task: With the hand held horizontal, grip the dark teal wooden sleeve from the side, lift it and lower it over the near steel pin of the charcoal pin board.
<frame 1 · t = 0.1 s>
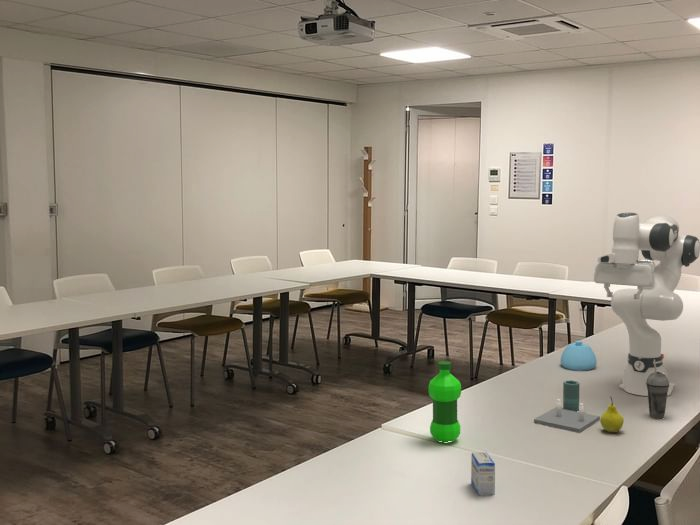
hand: (622, 298, 252), 39 cm above the table, tool pointing down, fingers open, 8 cm apart
fruit: (611, 432, 231), on the table
sleeve: (571, 410, 253), on the table
medicine box: (482, 489, 190), on the table
beverage cup: (656, 417, 243), on the table
sugar bowl: (578, 367, 311), on the table
pin board: (567, 421, 242), on the table
plastic bottle: (445, 441, 226), on the table
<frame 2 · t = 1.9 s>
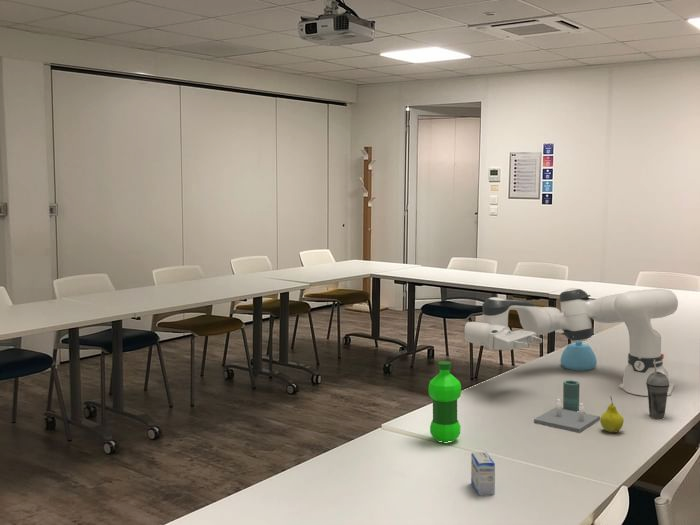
hand: (534, 343, 261), 22 cm above the table, tool horizontal, fingers open, 8 cm apart
nothing on the table moved.
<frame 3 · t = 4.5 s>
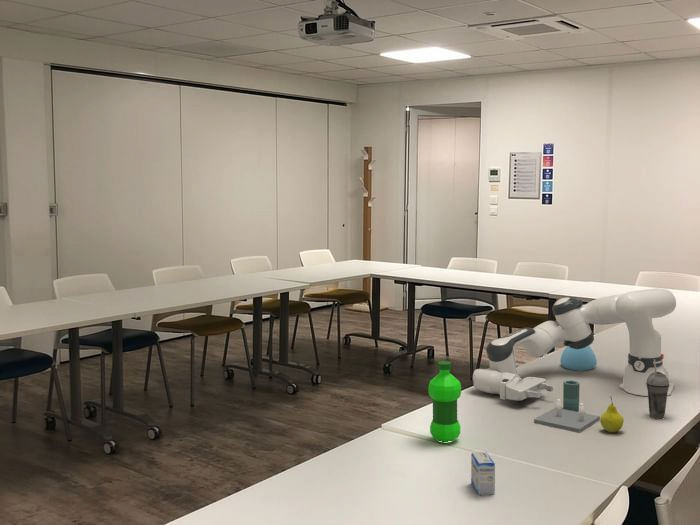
hand: (546, 391, 258), 5 cm above the table, tool horizontal, fingers open, 8 cm apart
nothing on the table moved.
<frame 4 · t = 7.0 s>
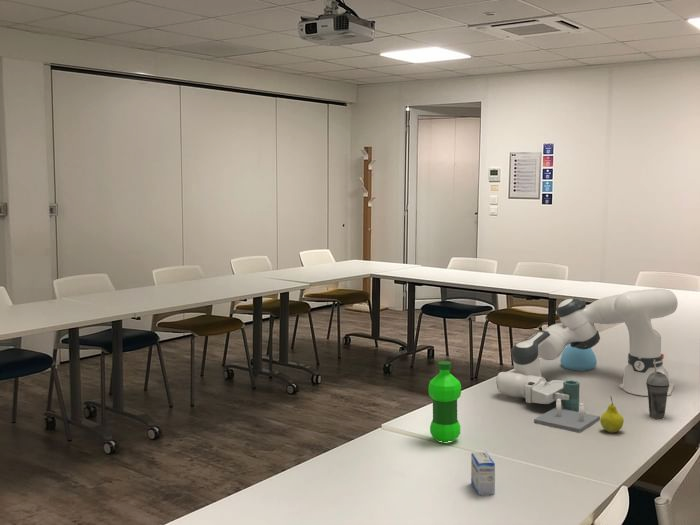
hand: (573, 395, 252), 6 cm above the table, tool horizontal, fingers closed on sleeve, 5 cm apart
sleeve: (571, 410, 253), on the table, touching gripper
everything else where it was.
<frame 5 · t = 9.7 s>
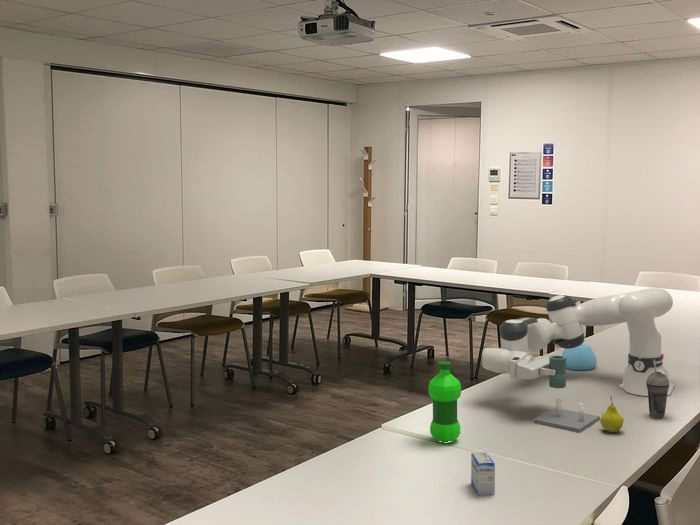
hand: (560, 370, 242), 17 cm above the table, tool horizontal, fingers closed on sleeve, 5 cm apart
sleeve: (557, 386, 243), point 11 cm above the table, touching gripper
everything else where it was.
when the fingers open (8 cm above the table, at t = 12.4 s): sleeve stays where it is, resting on pin board.
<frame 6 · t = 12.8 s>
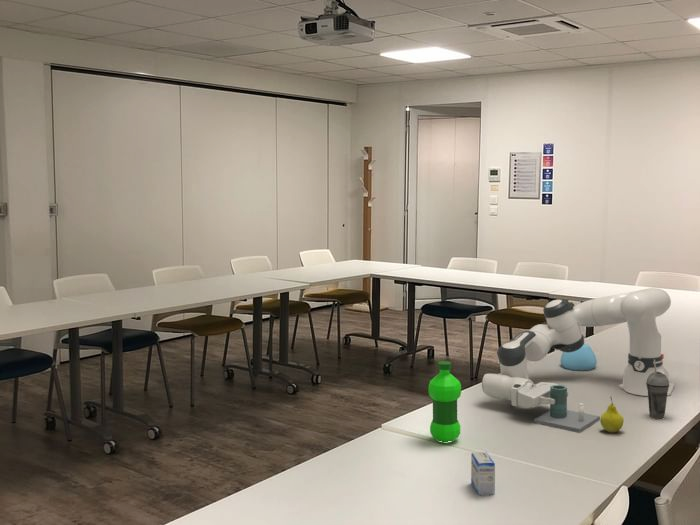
hand: (561, 398, 242), 8 cm above the table, tool horizontal, fingers open, 8 cm apart
sleeve: (558, 416, 243), point 1 cm above the table, touching pin board
everything else where it was.
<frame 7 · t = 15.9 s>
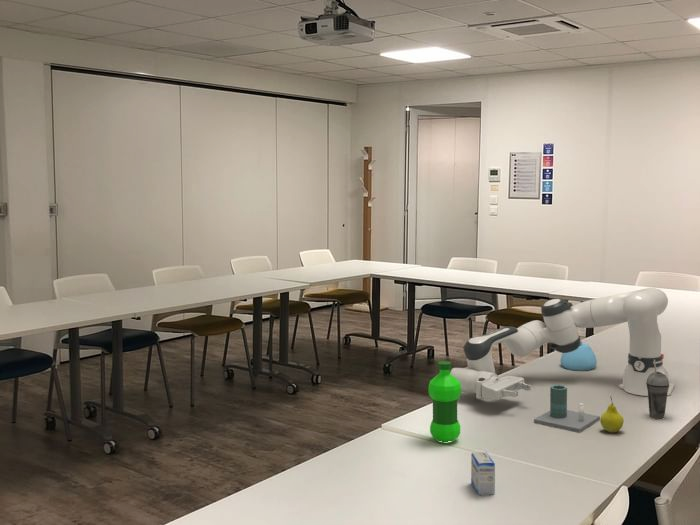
hand: (523, 391, 251), 8 cm above the table, tool horizontal, fingers open, 8 cm apart
nothing on the table moved.
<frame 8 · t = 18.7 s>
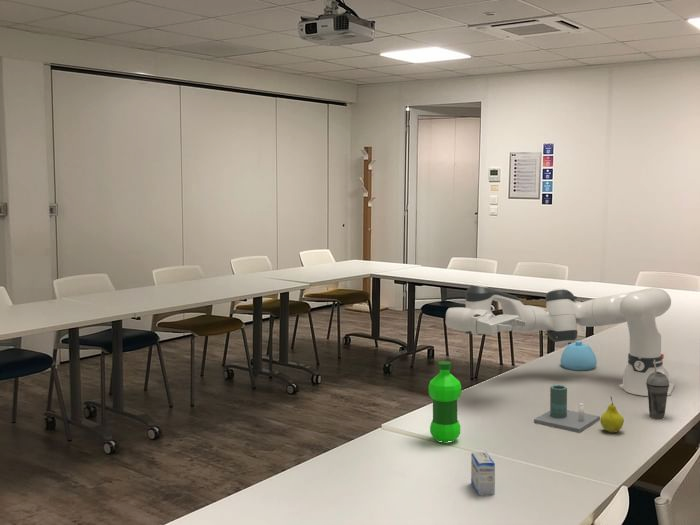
hand: (518, 326, 252), 30 cm above the table, tool horizontal, fingers open, 8 cm apart
nothing on the table moved.
at the end: sleeve 0.1 cm from the target spot on the pin board, point 1.2 cm above the pin board's base; sleeve tilted 0°; the gripper is holding nothing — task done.
